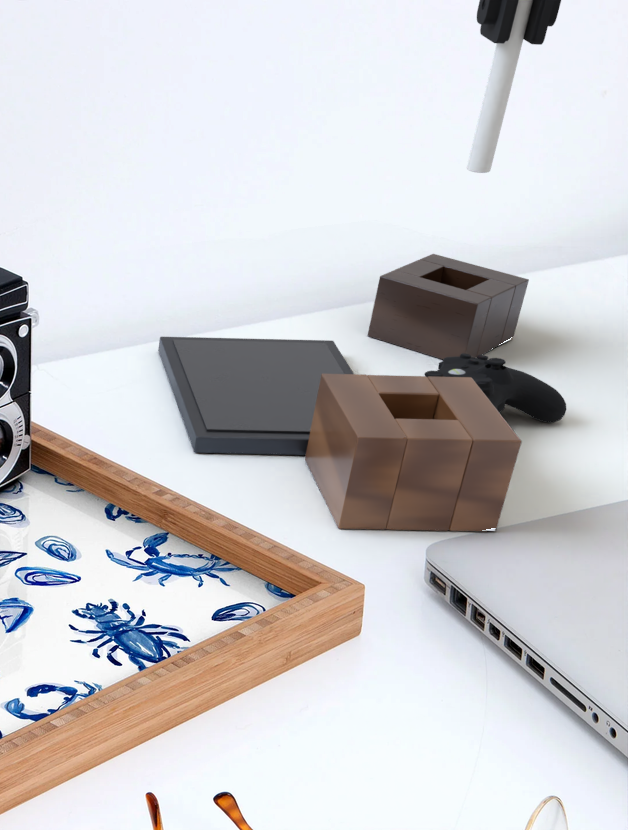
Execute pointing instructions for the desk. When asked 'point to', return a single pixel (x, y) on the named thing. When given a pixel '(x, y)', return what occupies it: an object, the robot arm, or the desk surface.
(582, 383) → the desk surface
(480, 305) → the back stand
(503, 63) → the stylus
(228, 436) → the tablet
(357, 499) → the front stand
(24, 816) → the desk surface
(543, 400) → the game controller
